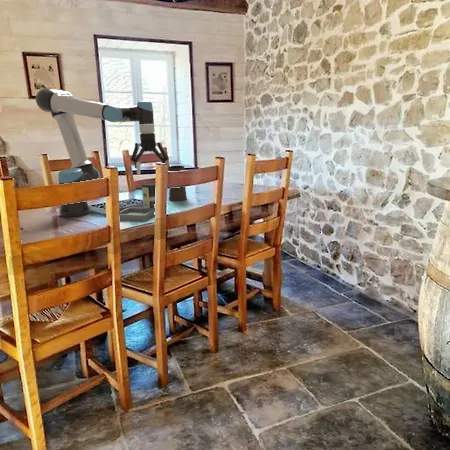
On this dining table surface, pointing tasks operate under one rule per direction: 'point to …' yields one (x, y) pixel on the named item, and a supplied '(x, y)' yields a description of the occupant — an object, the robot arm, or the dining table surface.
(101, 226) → the dining table surface
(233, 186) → the dining table surface
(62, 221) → the dining table surface
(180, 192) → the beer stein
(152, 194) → the coffee can
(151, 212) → the holder tray
